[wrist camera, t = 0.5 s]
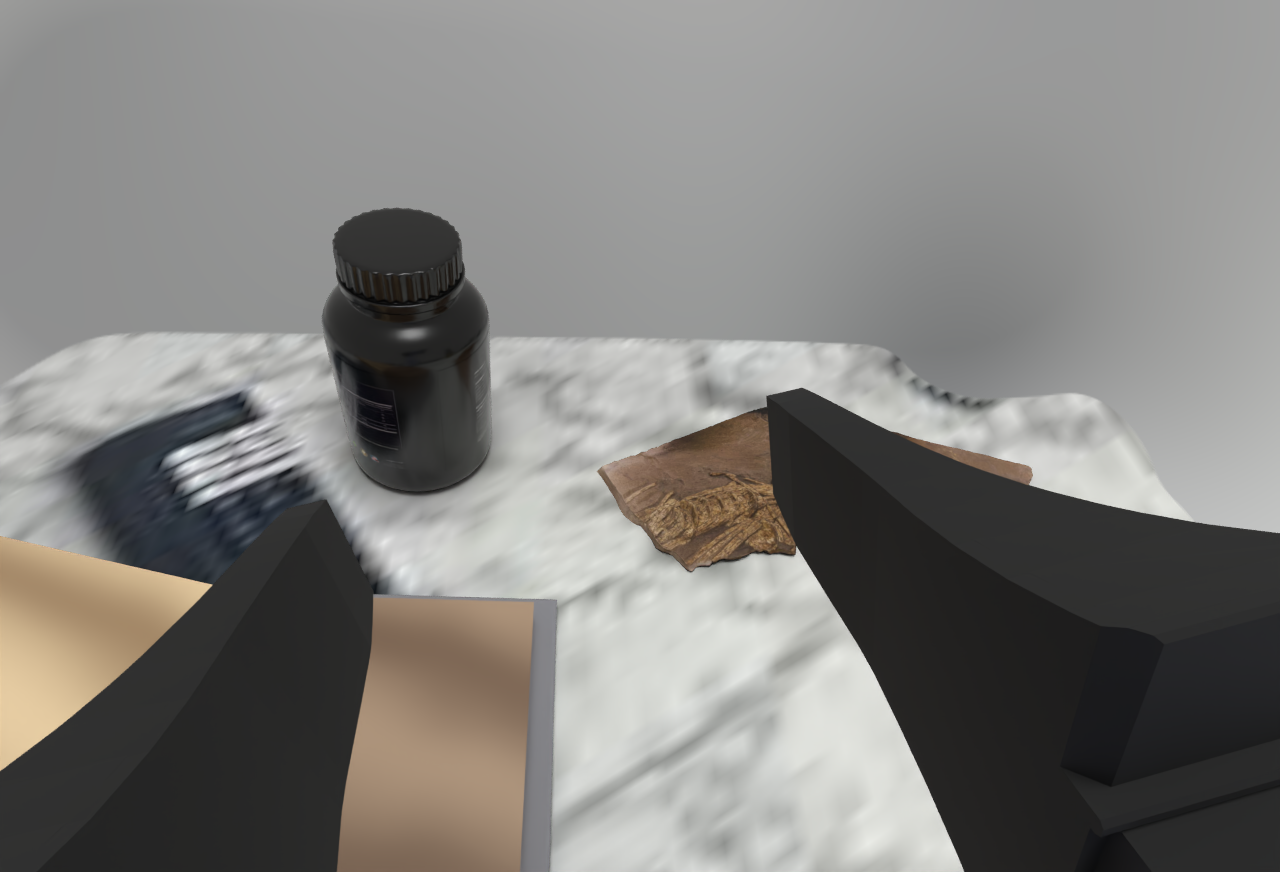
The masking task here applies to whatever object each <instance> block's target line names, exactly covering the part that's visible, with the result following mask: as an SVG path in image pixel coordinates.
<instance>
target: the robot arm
mask: <svg viewBox="0 0 1280 872" xmlns="http://www.w3.org/2000/svg"><path fill="white" fill-rule="evenodd" d="M766 397H767V412H768V426H769V441H770V456H771V471H772V486H773V495H774V497H775V500H776V502H777V504H778V507H779V509H780V511H781V514H782V516H783V518H784V521H785V523H786V525H787V527H788V529H789V531H790V534H791V536H792V538H793V540H794V542H795V544H796V546H797V547H798V549H799V551H800V552H801V554H802V556H803V557H804V559H805V561H806V562H807V564H808V565H809V567H810V569H811V570H812V572H813V574H814V575H815V577H816V578H817V580H818V582H819V583H820V585H821V586H822V588H823V590H824V591H825V593H826V594H827V596H828V598H829V599H830V601H831V602H832V604H833V606H834V607H835V609H836V610H837V612H838V614H839V615H840V617H841V618H842V620H843V622H844V623H845V625H846V626H847V628H848V630H849V631H850V633H851V634H852V636H853V638H854V639H855V641H856V642H857V644H858V646H859V647H860V649H861V651H862V653H863V654H864V656H865V658H866V660H867V662H868V663H869V665H870V667H871V669H872V670H873V672H874V674H875V676H876V678H877V681H878V683H879V685H880V687H881V689H882V691H883V693H884V695H885V697H886V699H887V701H888V703H889V705H890V707H891V709H892V711H893V713H894V716H895V718H896V720H897V722H898V724H899V726H900V728H901V730H902V732H903V734H904V737H905V739H906V741H907V743H908V745H909V747H910V750H911V752H912V754H913V756H914V758H915V760H916V763H917V765H918V767H919V769H920V771H921V773H922V776H923V778H924V780H925V782H926V784H927V786H928V789H929V791H930V793H931V796H932V798H933V800H934V802H935V805H936V807H937V809H938V812H939V814H940V816H941V818H942V821H943V823H944V825H945V827H946V830H947V832H948V834H949V837H950V839H951V841H952V843H953V846H954V848H955V850H956V853H957V855H958V857H959V860H960V862H961V864H962V867H963V869H964V872H1280V533H1272V532H1265V531H1257V530H1248V529H1240V528H1232V527H1224V526H1216V525H1208V524H1202V523H1196V522H1190V521H1185V520H1179V519H1173V518H1168V517H1162V516H1157V515H1151V514H1146V513H1140V512H1135V511H1131V510H1126V509H1121V508H1116V507H1112V506H1107V505H1102V504H1098V503H1094V502H1090V501H1086V500H1082V499H1078V498H1074V497H1070V496H1066V495H1062V494H1058V493H1054V492H1051V491H1047V490H1044V489H1040V488H1037V487H1033V486H1030V485H1026V484H1023V483H1020V482H1017V481H1014V480H1011V479H1008V478H1005V477H1002V476H999V475H996V474H993V473H990V472H987V471H984V470H981V469H978V468H975V467H973V466H970V465H967V464H964V463H962V462H959V461H957V460H954V459H952V458H949V457H947V456H945V455H942V454H940V453H937V452H935V451H933V450H930V449H928V448H925V447H923V446H921V445H918V444H916V443H914V442H912V441H910V440H907V439H905V438H903V437H901V436H899V435H897V434H894V433H892V432H890V431H888V430H886V429H884V428H882V427H880V426H878V425H876V424H874V423H872V422H870V421H868V420H866V419H864V418H862V417H860V416H858V415H856V414H854V413H852V412H850V411H848V410H846V409H844V408H842V407H840V406H838V405H837V404H835V403H833V402H831V401H829V400H827V399H825V398H823V397H821V396H819V395H817V394H815V393H813V392H811V391H808V390H806V389H804V388H799V389H795V390H791V391H786V392H782V393H778V394H773V395H769V396H766ZM372 628H373V590H372V588H371V586H370V584H369V582H368V580H367V578H366V576H365V574H364V572H363V570H362V568H361V566H360V565H359V563H358V561H357V559H356V557H355V555H354V553H353V551H352V549H351V547H350V545H349V543H348V541H347V539H346V537H345V535H344V533H343V531H342V529H341V527H340V525H339V523H338V521H337V519H336V518H335V516H334V514H333V512H332V510H331V508H330V506H329V504H328V502H327V500H322V501H318V502H313V503H309V504H305V505H301V506H296V507H292V508H288V509H286V510H285V511H284V512H283V513H282V514H281V515H280V516H279V517H277V518H276V519H275V520H274V521H273V522H272V523H271V524H270V525H269V526H268V527H267V528H266V529H265V530H264V531H263V532H262V533H261V535H260V536H259V537H258V538H257V539H256V540H255V541H254V542H253V543H252V544H251V545H250V546H249V547H248V548H247V549H246V550H245V551H244V552H243V554H242V555H241V556H240V557H239V558H238V559H237V560H236V561H235V562H234V563H233V564H232V565H231V566H230V567H229V568H228V569H227V570H226V571H225V573H224V574H223V575H222V576H221V577H220V578H219V579H218V580H217V581H216V582H215V583H214V584H213V585H212V586H211V587H210V588H209V589H208V590H207V591H206V593H205V594H204V595H203V596H202V597H201V598H200V599H199V600H198V601H197V602H196V603H195V604H194V605H193V606H192V607H191V608H190V609H189V610H188V611H187V612H186V613H185V614H184V615H183V616H182V617H181V618H180V619H179V620H178V621H177V622H176V623H175V624H173V625H172V626H171V627H170V628H169V629H168V630H167V631H166V632H165V633H164V634H163V635H162V636H161V637H160V638H159V639H158V640H157V641H156V642H155V643H154V644H153V645H152V646H151V647H150V648H149V649H148V650H147V651H146V652H145V653H144V654H143V655H142V656H141V657H140V658H138V659H137V660H136V661H135V662H134V663H133V664H132V665H131V666H130V667H129V668H128V669H126V670H125V671H124V672H123V673H122V674H121V675H120V676H119V677H117V678H116V679H115V680H114V681H113V682H112V683H111V684H110V685H108V686H107V687H106V688H105V689H104V690H102V691H101V692H100V693H99V694H98V695H97V696H95V697H94V698H93V699H92V700H91V701H89V702H88V703H87V704H86V705H85V706H83V707H82V708H81V709H80V710H79V711H77V712H76V713H75V714H74V715H73V716H72V717H70V718H69V719H68V720H67V721H65V722H64V723H63V724H62V725H60V726H59V727H58V728H57V729H55V730H54V731H53V732H51V733H50V734H49V735H47V736H46V737H45V738H43V739H42V740H41V741H39V742H38V743H37V744H35V745H34V746H33V747H31V748H30V749H29V750H28V751H26V752H25V753H24V754H22V755H21V756H20V757H18V758H17V759H16V760H14V761H13V762H12V763H10V764H9V765H8V766H6V767H5V768H4V769H2V770H1V771H0V872H337V865H338V852H339V840H340V828H341V816H342V808H343V801H344V794H345V787H346V781H347V775H348V770H349V765H350V760H351V755H352V749H353V744H354V739H355V734H356V729H357V724H358V718H359V713H360V708H361V703H362V698H363V692H364V687H365V681H366V676H367V670H368V665H369V659H370V653H371V645H372Z"/></svg>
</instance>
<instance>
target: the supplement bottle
mask: <svg viewBox="0 0 1280 872" xmlns="http://www.w3.org/2000/svg"><path fill="white" fill-rule="evenodd" d="M332 244H333V252H334V258H335V263H336V276H337V281H338V285H337V286H336V287H335V288H334V289H333V291H332V292H331V293H330V295H329V297H328V299H327V301H326V303H325V306H324V309H323V314H322V327H323V333H324V338H325V342H326V346H327V351H328V355H329V359H330V363H331V367H332V371H333V375H334V380H335V384H336V388H337V392H338V396H339V400H340V404H341V409H342V413H343V417H344V421H345V425H346V429H347V433H348V437H349V441H350V445H351V448H352V452H353V455H354V457H355V459H356V461H357V463H358V465H359V466H360V467H361V469H362V470H363V471H364V472H365V473H366V474H367V475H368V476H370V477H371V478H372V479H374V480H375V481H377V482H379V483H381V484H383V485H385V486H388V487H391V488H394V489H398V490H404V491H413V492H421V491H431V490H437V489H441V488H444V487H447V486H450V485H452V484H455V483H457V482H459V481H461V480H462V479H464V478H465V477H467V476H468V475H470V474H471V473H472V472H473V471H474V470H475V469H476V468H477V467H478V466H479V465H480V464H481V463H482V461H483V460H484V458H485V456H486V454H487V452H488V450H489V447H490V442H491V379H490V335H489V317H488V310H487V306H486V303H485V301H484V299H483V297H482V295H481V294H480V292H479V291H478V290H477V288H476V287H475V286H474V285H473V284H472V283H471V282H470V281H469V280H468V279H467V278H465V268H464V264H463V261H462V245H461V240H460V238H459V233H458V232H457V231H455V228H454V226H451V225H450V224H449V222H448V221H446V220H443V219H442V218H441V217H439V216H435V215H433V214H432V213H428V212H423V211H421V210H413V209H409V208H408V209H402V208H393V209H389V208H384V209H381V210H372V211H370V212H365V213H362V214H360V215H358V216H355V217H353V218H352V219H351V220H348V221H346V222H345V223H344V225H342V226H340V227H339V228H338V231H337V232H336V233H335V234H334V239H333V243H332Z"/></svg>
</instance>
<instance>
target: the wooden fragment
mask: <svg viewBox="0 0 1280 872" xmlns="http://www.w3.org/2000/svg"><path fill="white" fill-rule="evenodd" d="M890 432H891V431H890ZM892 433H894V434H897V435H899V436H901V437H903V438H905V439H907V440H910V441H912V442H914V443H916V444H918V445H921V446H923V447H925V448H928V449H930V450H933V451H935V452H937V453H940V454H942V455H945V456H947V457H949V458H952V459H954V460H957V461H959V462H962V463H964V464H967V465H970V466H973V467H975V468H978V469H981V470H984V471H987V472H990V473H993V474H996V475H999V476H1002V477H1005V478H1008V479H1011V480H1014V481H1017V482H1020V483H1023V484H1026V485H1029V483H1030V481H1031V479H1032V476H1033V474H1032V469H1031V467H1029V466H1026V465H1022V464H1018V463H1013V462H1009V461H1004V460H1001V459H997V458H994V457H990V456H987V455H983V454H978V453H973V452H970V451H965V450H961V449H958V448H952V447H947V446H944V445H940V444H934V443H930V442H927V441H923V440H919V439H915V438H911V437H909V436H906V435H902V434H900V433H896V432H892ZM597 472H598V473H599V475H600V476H601V477H602V478H603V480H604V482H605V483H606V485H607V486H608V488H609V490H610V491H611V493H612V494H613V496H614V497H615V499H616V501H617V503H618V506H619V508H620V510H621V512H622V513H623V515H624V516H625V517H626V518H628V519H629V520H630V521H631V522H633V523H634V524H636V525H640V526H641V527H642V528H643V529H644V531H645V532H646V533H647V534H648V536H649V537H650V538H651V540H652V541H653V543H654V545H655V547H656V548H657V549H659V550H661V551H662V552H667V553H669V554H670V555H672V556H674V558H675V559H676V560H677V561H679V562H680V563H681V565H682V566H683V567H685V569H686V570H689V571H694V569H695V568H696V567H699V566H710V565H711V564H712V563H716V562H717V561H719V560H721V559H725V560H730V559H741V557H744V556H746V555H748V554H750V553H752V552H755V551H757V552H761V551H765V552H767V553H769V554H772V553H785V554H792V555H795V554H796V544H795V542H794V540H793V538H792V536H791V534H790V531H789V529H788V527H787V525H786V523H785V521H784V518H783V516H782V514H781V511H780V509H779V507H778V504H777V502H776V500H775V497H774V495H773V486H772V471H771V456H770V441H769V426H768V412H767V407H764V408H760V409H757V410H753V411H750V412H747V413H744V414H742V415H739V416H737V417H735V418H732V419H729V420H726V421H723V422H721V423H718V424H716V425H714V426H710V427H708V428H706V429H703V430H700V431H698V432H695V433H692V434H690V435H687V436H684V437H682V438H679V439H675V440H673V441H671V442H669V443H665V444H663V445H661V446H659V447H658V448H657V447H655V448H652V449H650V450H648V451H647V452H641V453H639V454H638V455H636V456H630V457H627V458H624V459H621V460H619V461H614V462H612V463H610V464H607V465H604V466H602V467H601V468H600V469H599V470H598V471H597Z"/></svg>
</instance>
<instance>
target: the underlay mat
mask: <svg viewBox="0 0 1280 872" xmlns="http://www.w3.org/2000/svg"><path fill="white" fill-rule="evenodd" d="M373 598H407V599H442V600H477V601H512V602H534V611H533V630H532V650H531V669H530V688H529V707H528V727H527V746H526V765H525V784H524V803H523V823H522V842H521V861H520V872H549V867H550V831H551V794H552V758H553V722H554V685H555V649H556V613H557V600H548V599H514V598H480V597H446V596H411V595H377V594H373Z"/></svg>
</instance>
